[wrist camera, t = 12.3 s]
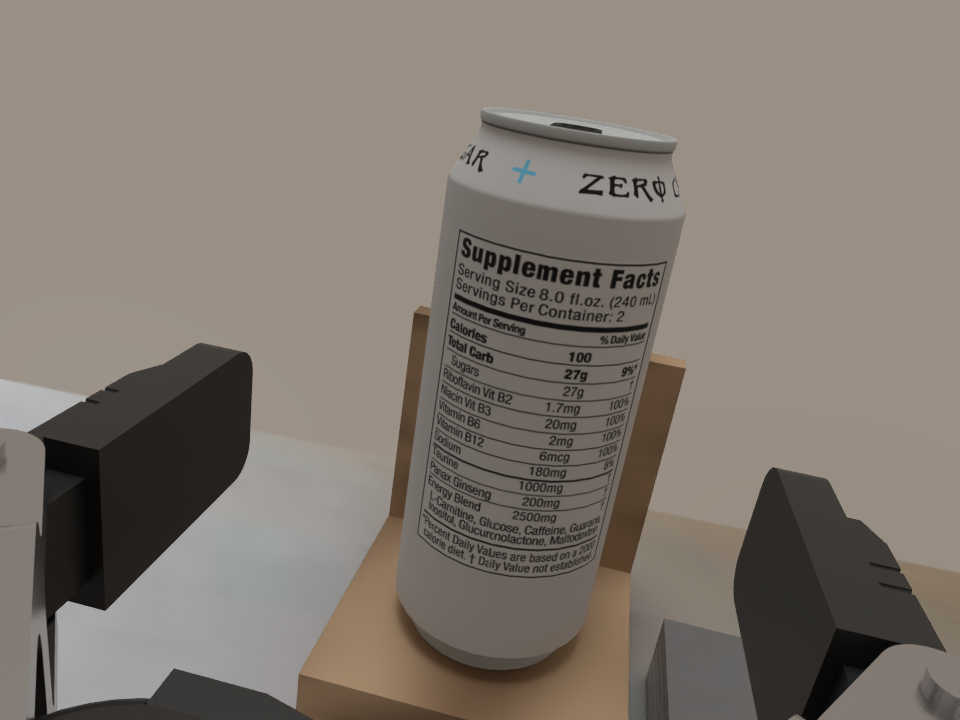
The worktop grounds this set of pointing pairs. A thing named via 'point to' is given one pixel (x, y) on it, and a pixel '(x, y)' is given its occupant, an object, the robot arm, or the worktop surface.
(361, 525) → the worktop surface
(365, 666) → the wooden l-shaped stand
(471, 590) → the energy drink can
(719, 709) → the socket block
